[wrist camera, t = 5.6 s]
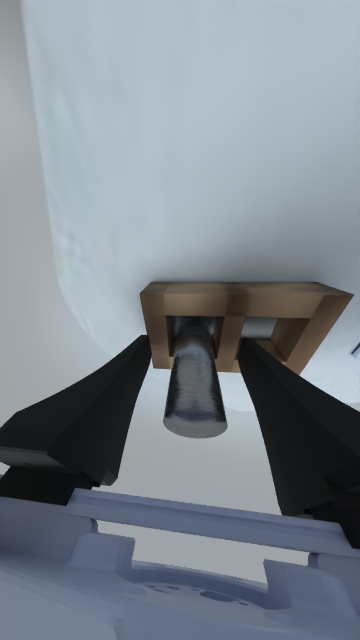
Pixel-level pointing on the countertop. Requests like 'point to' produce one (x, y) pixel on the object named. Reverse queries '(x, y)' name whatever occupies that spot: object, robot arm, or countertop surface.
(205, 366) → the peg
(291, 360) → the hole block
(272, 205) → the countertop surface
